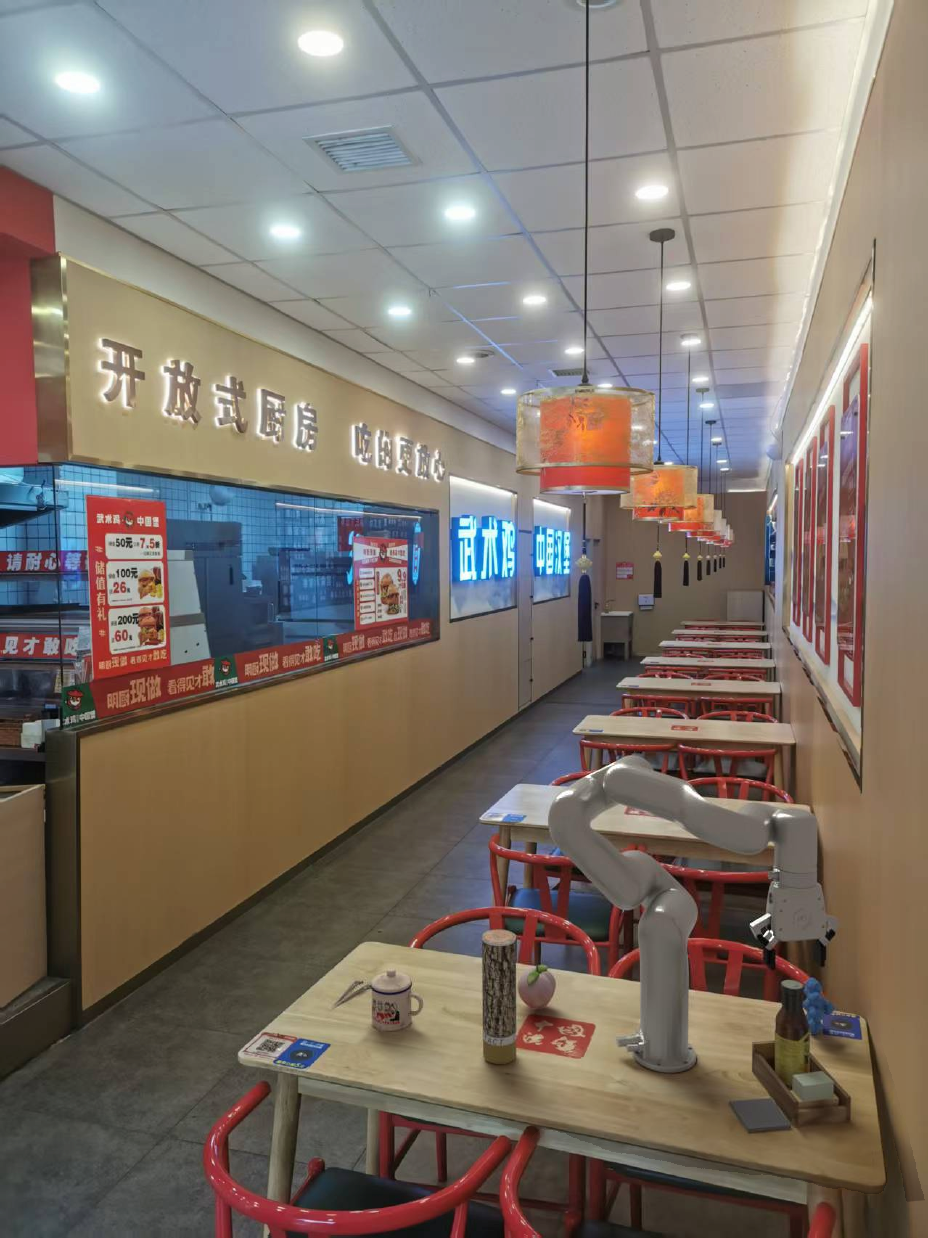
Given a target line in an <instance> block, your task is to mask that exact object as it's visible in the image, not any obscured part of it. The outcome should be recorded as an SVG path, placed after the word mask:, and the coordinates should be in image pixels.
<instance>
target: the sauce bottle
mask: <svg viewBox="0 0 928 1238" xmlns="http://www.w3.org/2000/svg"><path fill="white" fill-rule="evenodd" d="M804 987H805V985H804V984H803V983H801V982H799V981H798V980H793V979H792V980H791V979H786V980H783V981H781V983H780V991H781V1003H780V1004H781V1008H779V1010H778V1012H777V1013H776V1015H775V1020H774V1021H775V1022H774V1023H775V1030H774V1040H775V1073H776V1074H777V1075H778V1077H779V1078H780V1079H781V1080H782V1082H783V1083H784V1084H785V1085H786V1087H787V1088H788V1089H789V1090H792V1081H793V1075H796V1074H804V1073H810V1053H811V1040H810V1039H811V1037H810V1036H811V1033H810V1026H809V1023H808V1021H807V1018H806V1013H805V1009H804V1008H803V1002H804V995H805V993H804V989H805V988H804Z"/></svg>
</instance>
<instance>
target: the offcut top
mask: <svg viewBox="0 0 928 1238" xmlns="http://www.w3.org/2000/svg"><path fill="white" fill-rule="evenodd" d="M792 1091H793V1092H794V1093H795V1094H796V1095H797V1096H798V1097H799V1098H800V1099H801V1100H802V1101H803V1102H809V1101H816V1100H823V1099H830V1098H833V1094H834V1082H833V1081H832V1080H831V1079H830V1078H829V1077H828V1076H827V1075H826V1074H825V1073H824V1072H823V1071H818V1072H811V1073H804V1074H796V1075H793V1081H792Z"/></svg>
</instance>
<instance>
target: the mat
mask: <svg viewBox="0 0 928 1238" xmlns="http://www.w3.org/2000/svg"><path fill="white" fill-rule="evenodd" d="M728 1105H729V1106H730V1108H731V1109H732V1111H733V1112H734V1114H735V1115H736V1117H737V1119H738V1120H739V1121H740V1123H741V1124H742V1125H743V1127H744V1128H745V1130H746V1132H747V1133H751V1132H754V1133H755V1132H766V1131H777V1130H778V1131H779V1130H787V1129H788V1130H789V1129H792V1123H791V1122H790V1121H789V1119H788V1118H787V1117H786V1115H785V1114H784V1113H783V1112H782V1110H781V1109H780V1108H779V1106H778V1105H777V1104H776V1102H775V1101H774V1100H773V1098H772V1097H767V1098H765V1097H764V1098H757V1099H756V1098H754V1099H752V1098H751V1099H743V1100H742V1099H740V1100H731V1101H728Z"/></svg>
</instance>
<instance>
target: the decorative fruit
mask: <svg viewBox="0 0 928 1238" xmlns="http://www.w3.org/2000/svg"><path fill="white" fill-rule="evenodd" d="M548 969H549V967H548V966H547V965H545V964H539V965H536V967H532V968H528V969H527V970H524V971H523V972H522V974H521V975H520V977H519V978H518V981H517V985H516V989H517V993H518V995H519V998H520V999H521V1001H523V1003H524V1004H525V1005H526V1006H527V1007H529V1008H530V1009H534V1010H541V1009H544V1008H545V1007H546V1006H548V1005H549V1004H550V1002H551V1000H552V998H553V996H554V994H555V991H556V987H557V982H556V979H555V977H554V975H553V974H552V972H551V971H550V970H548Z"/></svg>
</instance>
